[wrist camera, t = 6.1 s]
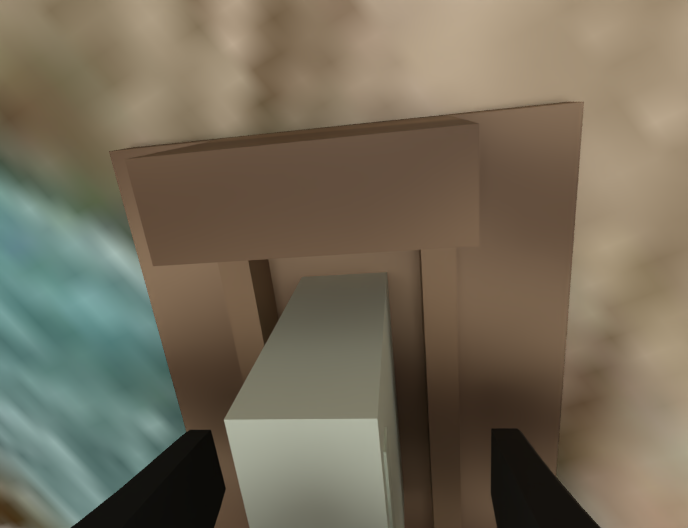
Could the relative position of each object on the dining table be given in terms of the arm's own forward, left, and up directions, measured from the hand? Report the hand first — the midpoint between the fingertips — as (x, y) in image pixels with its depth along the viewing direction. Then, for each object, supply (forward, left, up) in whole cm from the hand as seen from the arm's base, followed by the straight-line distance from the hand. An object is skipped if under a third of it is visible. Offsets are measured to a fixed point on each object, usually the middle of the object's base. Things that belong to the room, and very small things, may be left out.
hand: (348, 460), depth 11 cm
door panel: (0, 0, -3) cm, 3 cm away
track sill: (0, 0, -4) cm, 4 cm away
